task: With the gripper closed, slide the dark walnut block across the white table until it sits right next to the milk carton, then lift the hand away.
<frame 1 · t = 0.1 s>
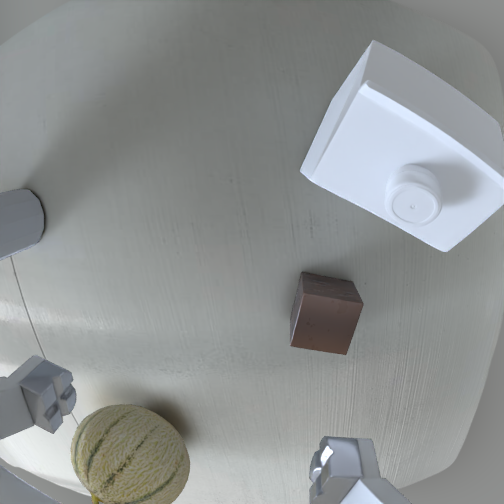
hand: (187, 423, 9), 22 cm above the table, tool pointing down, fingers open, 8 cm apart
cantaloupe: (149, 421, 38), on the table
water bottle: (25, 210, 32), on the table
walnut block: (321, 300, 30), on the table
milk carton: (352, 153, 26), on the table
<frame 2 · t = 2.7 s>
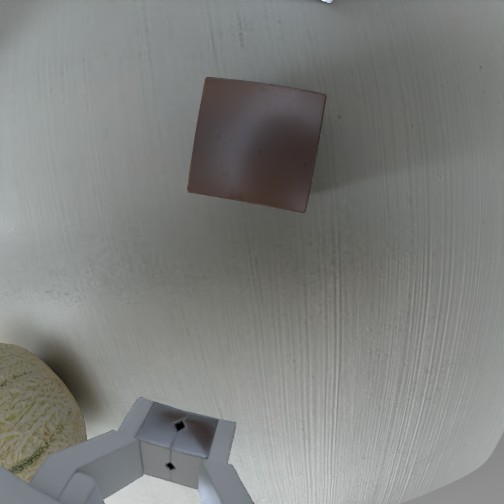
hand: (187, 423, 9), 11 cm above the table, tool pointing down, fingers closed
cantaloupe: (50, 380, 25), on the table
walnut block: (264, 146, 17), on the table
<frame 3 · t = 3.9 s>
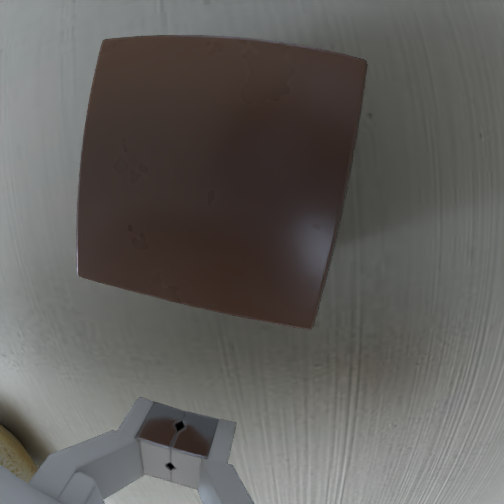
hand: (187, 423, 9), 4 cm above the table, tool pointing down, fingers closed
cantaloupe: (9, 435, 18), on the table
walnut block: (241, 166, 10), on the table
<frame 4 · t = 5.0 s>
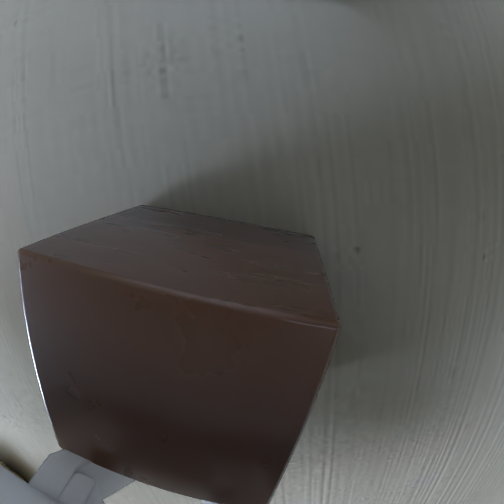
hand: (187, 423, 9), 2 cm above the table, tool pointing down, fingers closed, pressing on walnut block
walnut block: (211, 301, 9), on the table, touching gripper
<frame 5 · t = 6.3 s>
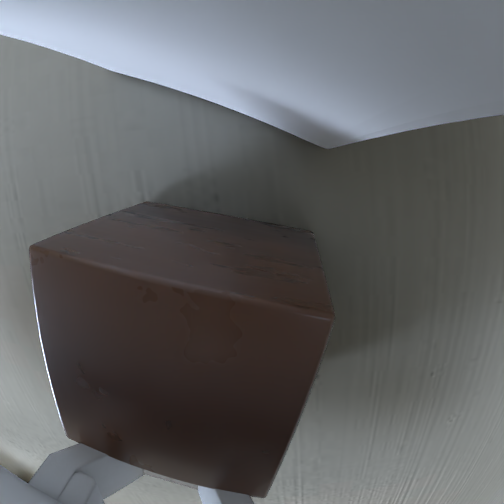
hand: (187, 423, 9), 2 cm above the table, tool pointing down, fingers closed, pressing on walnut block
walnut block: (214, 295, 10), on the table, touching gripper
milk carton: (260, 2, 7), on the table
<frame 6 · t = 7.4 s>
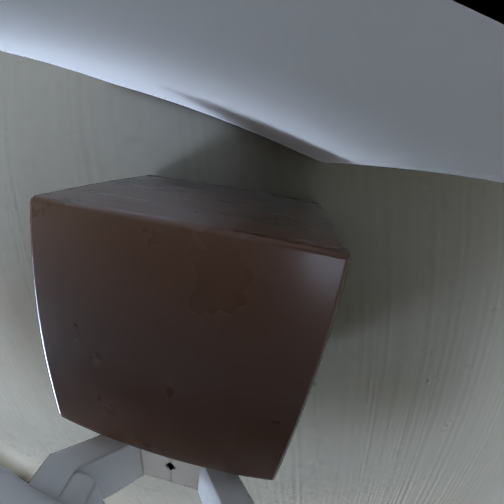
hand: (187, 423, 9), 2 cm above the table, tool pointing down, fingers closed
walnut block: (217, 270, 10), on the table
milk carton: (258, 13, 7), on the table
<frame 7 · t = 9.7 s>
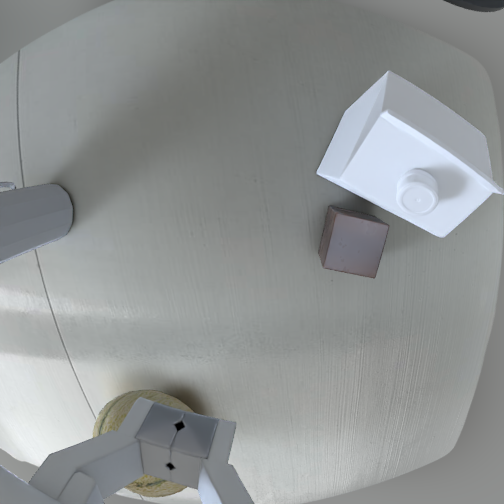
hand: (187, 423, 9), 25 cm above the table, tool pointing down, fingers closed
cantaloupe: (167, 408, 41), on the table
water bottle: (53, 205, 35), on the table
walnut block: (346, 234, 32), on the table
milk carton: (361, 158, 30), on the table
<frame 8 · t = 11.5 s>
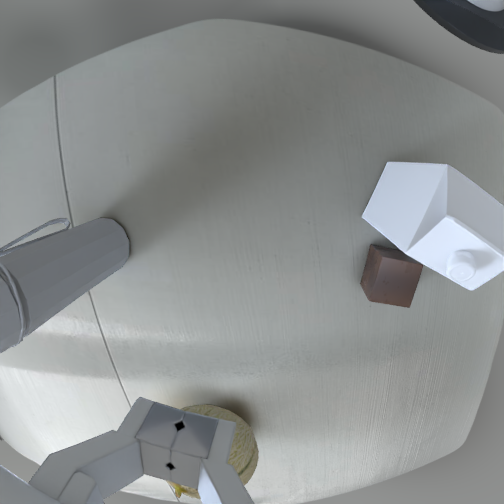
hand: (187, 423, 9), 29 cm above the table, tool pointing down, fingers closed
cantaloupe: (215, 418, 46), on the table
water bottle: (105, 237, 39), on the table
walnut block: (384, 268, 36), on the table
milk carton: (399, 202, 34), on the table
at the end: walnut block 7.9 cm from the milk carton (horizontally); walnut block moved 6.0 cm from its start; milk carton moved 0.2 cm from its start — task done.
